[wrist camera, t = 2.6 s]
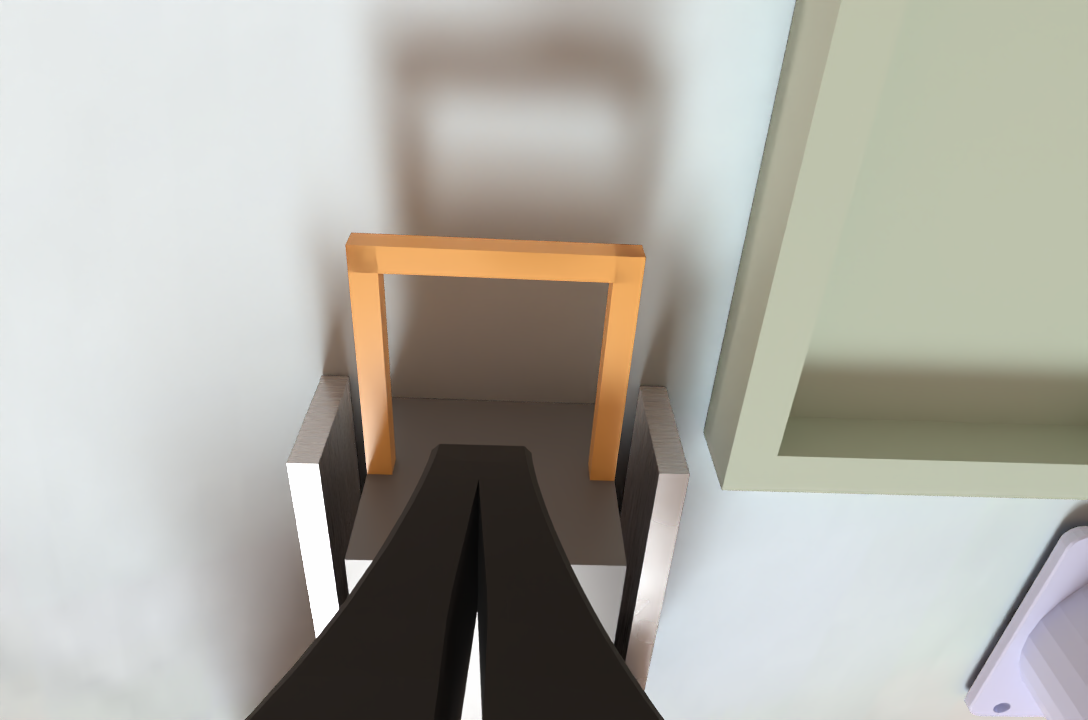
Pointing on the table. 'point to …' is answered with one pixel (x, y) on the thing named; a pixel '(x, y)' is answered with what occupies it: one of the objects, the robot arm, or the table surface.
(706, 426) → the green tray
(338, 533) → the steel bay
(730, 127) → the table surface
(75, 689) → the table surface
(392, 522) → the orange handle block
